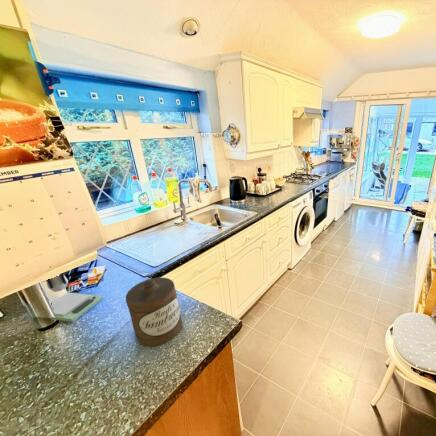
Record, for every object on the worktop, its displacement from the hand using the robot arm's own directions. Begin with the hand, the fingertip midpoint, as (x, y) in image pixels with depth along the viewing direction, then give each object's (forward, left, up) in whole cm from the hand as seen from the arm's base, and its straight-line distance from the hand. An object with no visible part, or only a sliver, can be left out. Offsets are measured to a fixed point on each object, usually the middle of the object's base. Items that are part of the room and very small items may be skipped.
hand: (58, 284), depth 88 cm
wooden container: (+40, -2, -14) cm, 42 cm away
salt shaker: (-3, +2, -4) cm, 6 cm away
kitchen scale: (-1, +2, -14) cm, 14 cm away
